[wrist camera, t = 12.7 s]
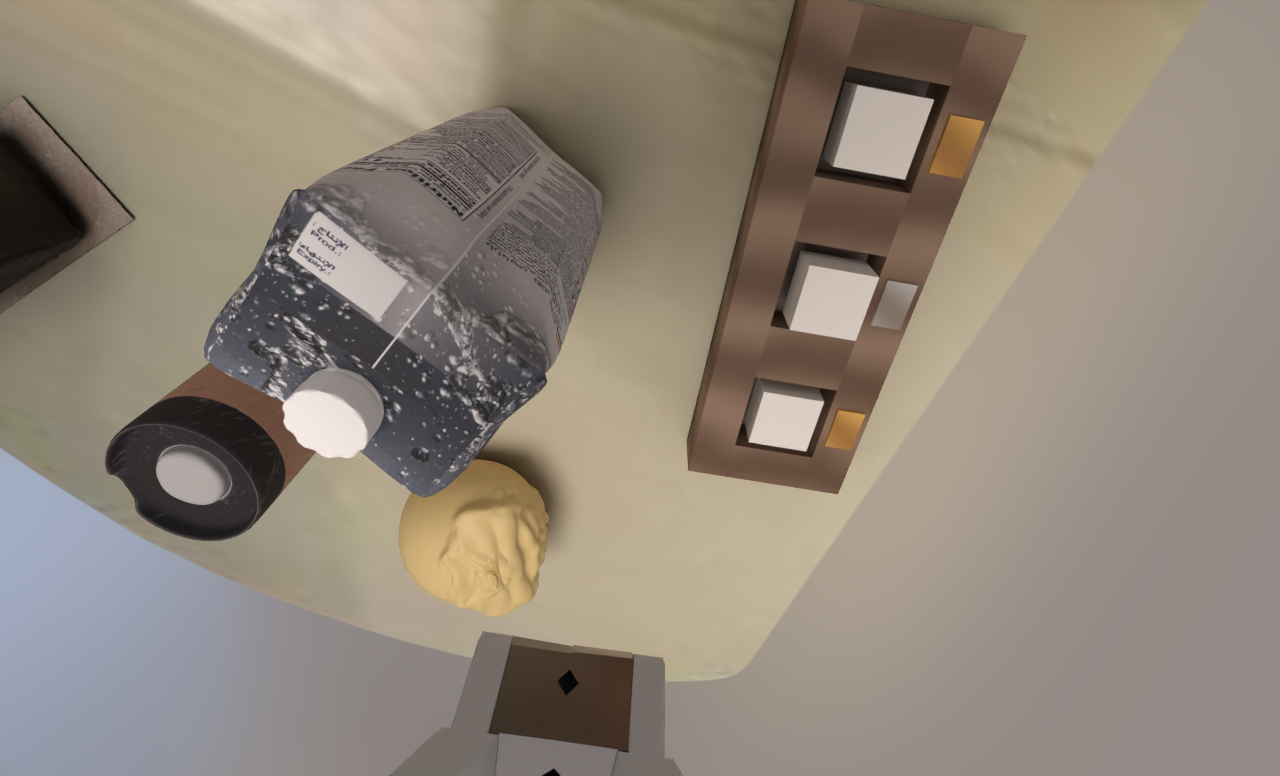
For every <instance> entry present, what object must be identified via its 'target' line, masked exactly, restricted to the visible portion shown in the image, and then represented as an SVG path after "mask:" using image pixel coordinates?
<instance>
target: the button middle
mask: <svg viewBox="0 0 1280 776" xmlns="http://www.w3.org/2000/svg"><path fill="white" fill-rule="evenodd" d="M878 280H879V276H878V275H877V274H876V273H875V272H874V270H873V269H872V268H871V267H870V266H869V264H868V263H867V262H865V261H860V260H854V259H848V258H843V257H837V256H831V255H826V254H820V253H814V252H809V251H803V250H801V252H800V255H799V258H798V262H797V265H796V268H795V272H794V275H793V278H792V282H791V285H790V288H789V292H788V295H787V298H786V302H785V305H784V308H783V314H784V317H785V319H786V322H787V324H788V327H789V329H790V330H794V331H799V332H805V333H811V334H817V335H823V336H829V337H835V338H841V339H846V340H852V341H856V339H857V336H858V334H859V331H860V328H861V325H862V323H863V320H864V317H865V315H866V312H867V309H868V307H869V304H870V301H871V299H872V296H873V293H874V291H875V288H876V285H877V283H878Z"/></svg>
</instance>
